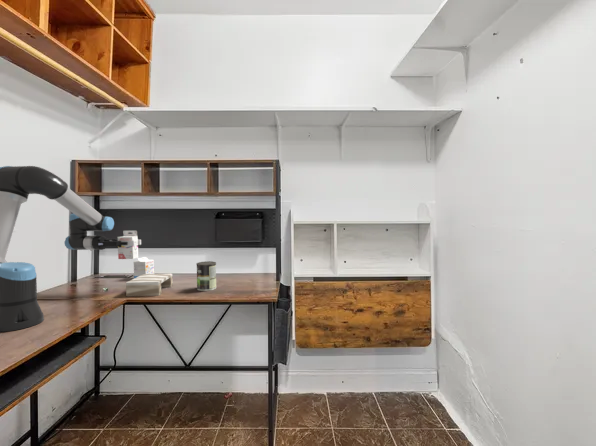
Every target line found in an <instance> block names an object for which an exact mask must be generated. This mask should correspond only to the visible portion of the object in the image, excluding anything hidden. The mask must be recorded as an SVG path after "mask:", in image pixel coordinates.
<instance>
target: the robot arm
mask: <svg viewBox="0 0 596 446" xmlns="http://www.w3.org/2000/svg"><path fill="white" fill-rule="evenodd" d="M29 195H40V196H44V197H45V198H47V199H48V200H54V201H55V202H57V203H58V204H60V205H61V206H63V208H66V209H67V210H68V211H69V212H71V213H70V214H69V219H68V220H69V221H68V222H69V235H68V236H66V237H65V240H64V247H66V249H68V250H75V251H82V250H83V251H90V252H92V251H94V250H95V251H96V250H97V251H103V250H105V249H106V248H109V247H117V248H118V246H119V247H121V245H122V246H135V241H122V242H121V241H118V238H107V237H106V236H104V235H88V232H108V231H109V232H110V231H112V230H113V229H114V226H115V221H114V218H113V217H111V216H103V214H101V213H100V212H99V211H97V210H96V209H95V208H94V207H92V206H91V205H90V204H89V203H88V202H86V201H85V200H84V199H83V198H82V197H80V196H79V194H77V193H76V192H74V191H73V189H72V190H71V188H70V187H69V185H68V183H67V182H66V181H64V180H63V179H62V178H61V177H59V176H58V175H56V174H55V173H53V172H51V171H50V170H47V169H45V168H42V167H40V166H36V165H35V166H34V165H19V166H18V165H17V166H12V165H11V166H10V165H5V166H0V332H3V333H4V332H12V331H18V330H22V329H27V328H31V327H33V326H36V325H38V324H40V323H43V322H44V320H45V315H44V313H43V311H42V309H41V307H40V305H39V303H38V293H37V291H38V289H37V288H38V287H37V272H36V266H35V265H33V264H32V263H29V262H22V261H21V262H19V261H17V262H16V261H15V262H14V261H10V262H8V261H6V256H7V253H8V249H9V245H10V242H11V238H12V236H13V233H14V229H15V226H16V222H17V219H18V216H19V212H20V209H21V206H22V204H24V203H25V202H26V203H27V201H28V198H29ZM141 245H142V239H138V246H141Z"/></svg>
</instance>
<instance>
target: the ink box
mask: <svg viewBox="0 0 596 446" xmlns="http://www.w3.org/2000/svg"><path fill="white" fill-rule="evenodd" d="M143 274H155V259H149V258H148V257H147V256H143V257H138V258H137V260H133V279H134V278H136V277H139V276H141V275H143Z"/></svg>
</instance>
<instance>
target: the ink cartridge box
mask: <svg viewBox="0 0 596 446" xmlns="http://www.w3.org/2000/svg"><path fill="white" fill-rule="evenodd" d="M122 233H123V235H122V236H117V239H118V241H121V242H122V241H135V246H122V245H121V247H119V246H117V255H118V260H135V259H138V258H139V245H138V240H139V238H138V231H137V230H123V231H122Z"/></svg>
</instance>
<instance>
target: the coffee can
mask: <svg viewBox="0 0 596 446" xmlns="http://www.w3.org/2000/svg"><path fill="white" fill-rule="evenodd" d="M216 289H217V262H216V261H212V260H211V261H208V260H207V261H199V262H196V290H197V291H201V292H209V291H213V290H216Z"/></svg>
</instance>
